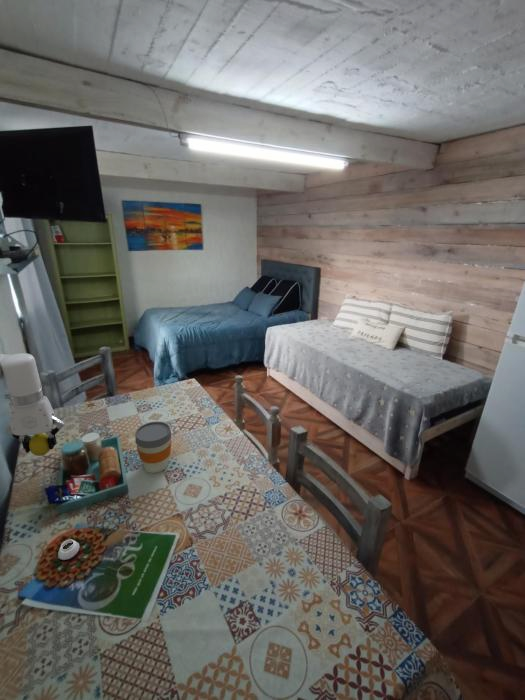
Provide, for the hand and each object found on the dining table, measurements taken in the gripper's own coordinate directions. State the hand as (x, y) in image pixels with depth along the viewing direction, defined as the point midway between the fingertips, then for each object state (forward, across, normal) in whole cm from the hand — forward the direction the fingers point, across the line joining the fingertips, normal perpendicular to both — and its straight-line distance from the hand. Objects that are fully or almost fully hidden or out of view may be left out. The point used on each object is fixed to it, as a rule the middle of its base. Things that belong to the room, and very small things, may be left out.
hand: (41, 447), depth 97 cm
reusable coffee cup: (+20, +32, +8) cm, 38 cm away
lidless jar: (+20, +10, -22) cm, 31 cm away
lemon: (+3, 0, 0) cm, 3 cm away
